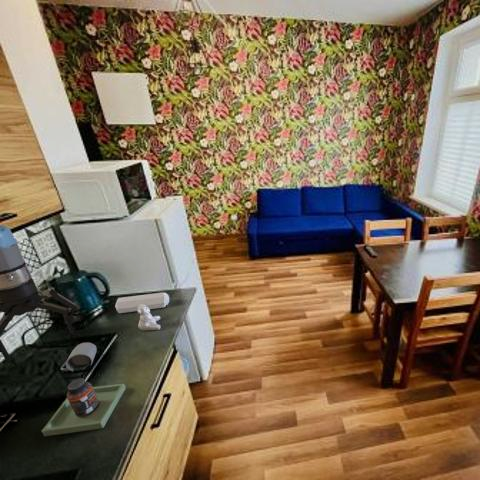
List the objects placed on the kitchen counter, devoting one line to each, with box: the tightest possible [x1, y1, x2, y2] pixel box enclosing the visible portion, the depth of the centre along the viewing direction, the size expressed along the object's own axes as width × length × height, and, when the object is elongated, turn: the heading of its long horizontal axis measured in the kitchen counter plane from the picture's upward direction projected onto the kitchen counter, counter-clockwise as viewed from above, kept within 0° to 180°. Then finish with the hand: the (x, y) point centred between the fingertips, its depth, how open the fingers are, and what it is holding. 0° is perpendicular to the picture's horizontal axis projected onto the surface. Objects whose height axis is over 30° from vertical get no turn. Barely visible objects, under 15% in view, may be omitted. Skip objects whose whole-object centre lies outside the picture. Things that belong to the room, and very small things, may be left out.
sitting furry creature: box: [136, 304, 162, 332], centre depth 119 cm, size 10×9×12 cm
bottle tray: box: [41, 383, 127, 437], centre depth 85 cm, size 16×14×2 cm
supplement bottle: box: [66, 378, 99, 417], centre depth 83 cm, size 6×6×11 cm
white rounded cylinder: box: [114, 292, 170, 314], centre depth 133 cm, size 7×7×24 cm
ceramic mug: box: [60, 341, 98, 372], centre depth 100 cm, size 11×8×8 cm
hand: (42, 345), depth 78 cm, fingers open, 13 cm apart
